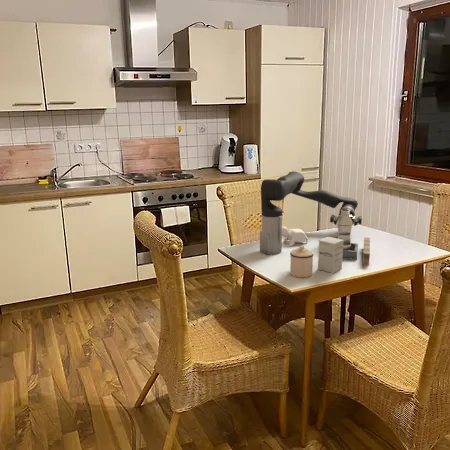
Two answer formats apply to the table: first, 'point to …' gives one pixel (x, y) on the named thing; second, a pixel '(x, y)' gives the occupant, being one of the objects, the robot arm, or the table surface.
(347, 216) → the silver bottle
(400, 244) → the table surface
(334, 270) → the supplement box
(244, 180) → the table surface
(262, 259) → the table surface
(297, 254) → the teacup with lid
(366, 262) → the wooden plank
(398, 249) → the table surface
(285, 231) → the white piece
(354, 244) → the keeper
